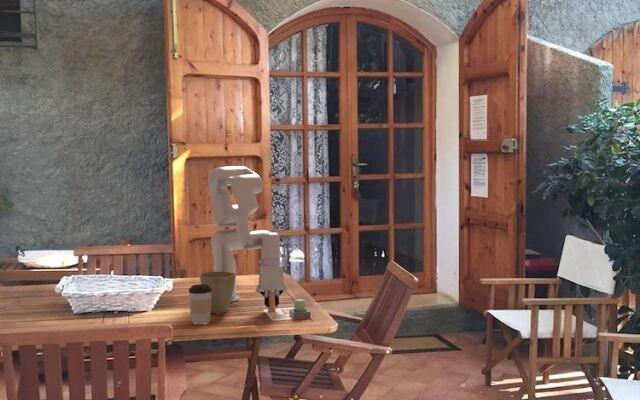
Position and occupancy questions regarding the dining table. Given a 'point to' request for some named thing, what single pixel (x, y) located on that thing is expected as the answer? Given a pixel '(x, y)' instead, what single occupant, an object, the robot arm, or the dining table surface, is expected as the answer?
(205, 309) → the coffee cup
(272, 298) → the marker
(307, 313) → the button housing
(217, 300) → the plant pot
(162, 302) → the dining table surface
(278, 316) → the colouring board
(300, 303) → the button
